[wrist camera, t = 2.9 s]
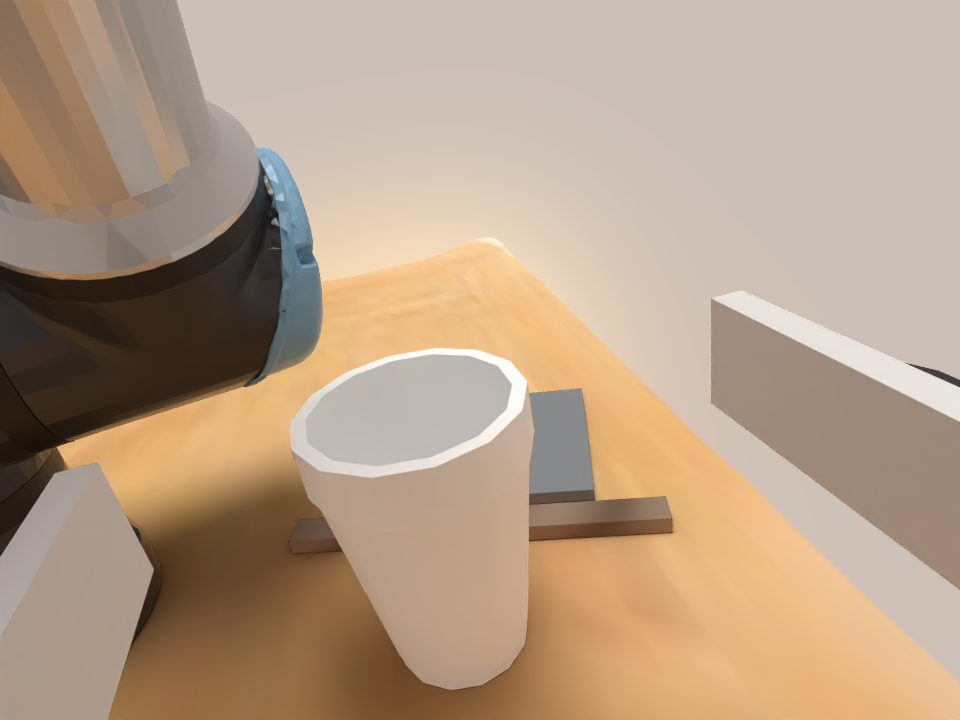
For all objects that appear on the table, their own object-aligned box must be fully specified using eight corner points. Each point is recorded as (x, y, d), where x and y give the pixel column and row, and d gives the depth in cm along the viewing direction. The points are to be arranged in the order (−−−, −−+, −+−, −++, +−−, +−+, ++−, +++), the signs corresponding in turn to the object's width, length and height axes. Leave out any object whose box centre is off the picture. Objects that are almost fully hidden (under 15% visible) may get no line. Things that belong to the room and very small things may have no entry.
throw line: (292, 553, 37) (288, 540, 36) (303, 532, 38) (298, 519, 38) (672, 532, 34) (672, 518, 33) (666, 510, 35) (665, 496, 35)
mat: (370, 514, 39) (367, 504, 39) (406, 413, 50) (404, 404, 49) (594, 499, 37) (593, 489, 36) (582, 397, 47) (581, 388, 47)
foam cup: (333, 637, 31) (250, 419, 25) (469, 533, 36) (426, 332, 30) (454, 772, 24) (378, 515, 18) (600, 621, 29) (577, 383, 23)
